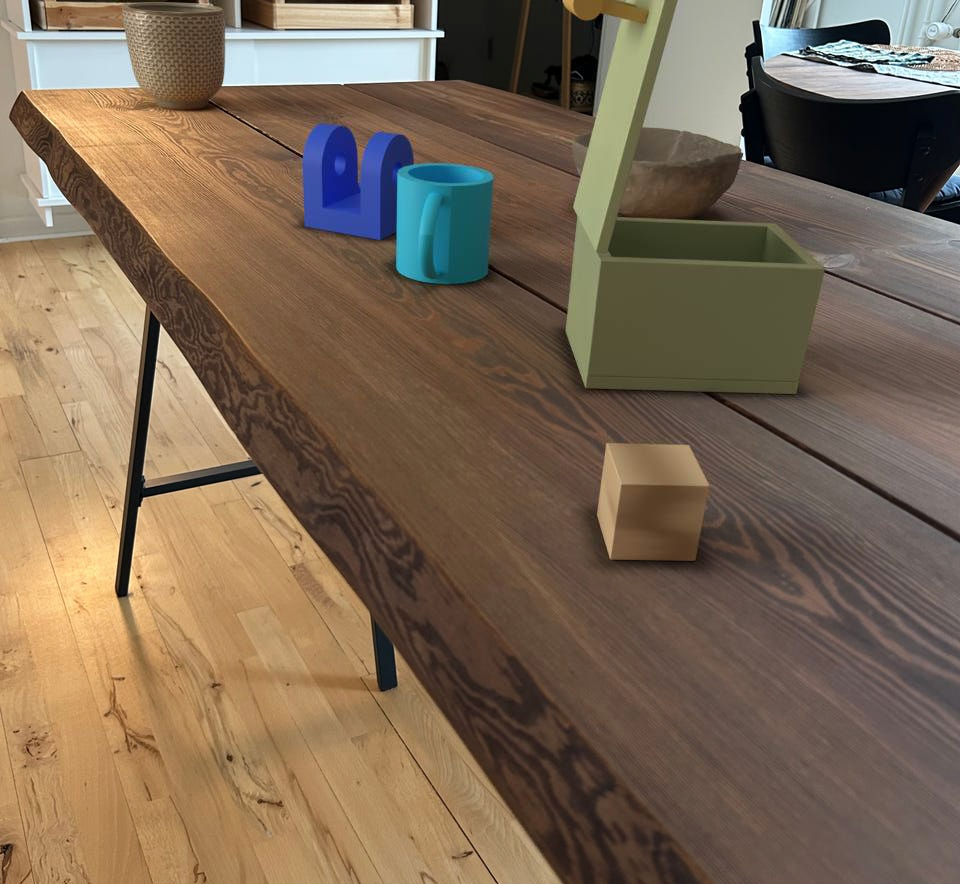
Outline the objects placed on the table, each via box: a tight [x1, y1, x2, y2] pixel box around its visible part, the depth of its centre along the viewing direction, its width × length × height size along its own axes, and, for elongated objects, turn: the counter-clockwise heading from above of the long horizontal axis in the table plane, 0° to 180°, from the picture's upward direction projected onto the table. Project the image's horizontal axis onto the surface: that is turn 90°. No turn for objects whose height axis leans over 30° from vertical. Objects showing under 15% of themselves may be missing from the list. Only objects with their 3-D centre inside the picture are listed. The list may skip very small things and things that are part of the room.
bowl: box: [571, 126, 744, 220], centre depth 109 cm, size 18×18×8 cm
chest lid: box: [562, 0, 679, 254], centre depth 66 cm, size 16×11×5 cm
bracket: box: [302, 122, 415, 241], centre depth 104 cm, size 18×8×9 cm, turn 157°
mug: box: [395, 162, 494, 285], centre depth 87 cm, size 12×8×8 cm
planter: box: [121, 1, 226, 111], centre depth 147 cm, size 14×14×13 cm
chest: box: [565, 215, 826, 395], centre depth 73 cm, size 15×11×9 cm
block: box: [596, 442, 710, 562], centre depth 53 cm, size 4×4×4 cm
